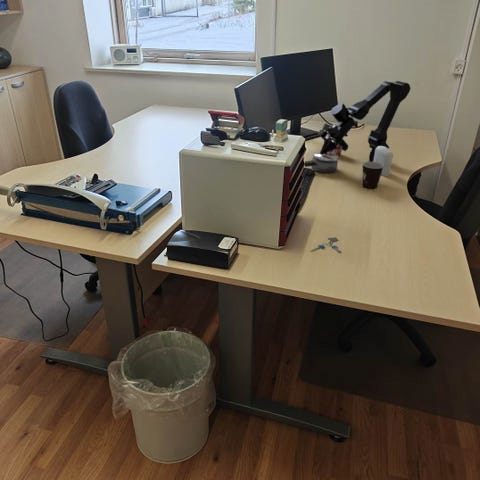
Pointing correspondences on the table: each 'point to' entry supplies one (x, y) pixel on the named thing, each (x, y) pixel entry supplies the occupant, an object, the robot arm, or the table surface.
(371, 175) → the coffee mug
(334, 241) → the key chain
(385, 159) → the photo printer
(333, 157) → the cooker lid
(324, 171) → the pressure cooker pot
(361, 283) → the table surface
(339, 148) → the soda can
